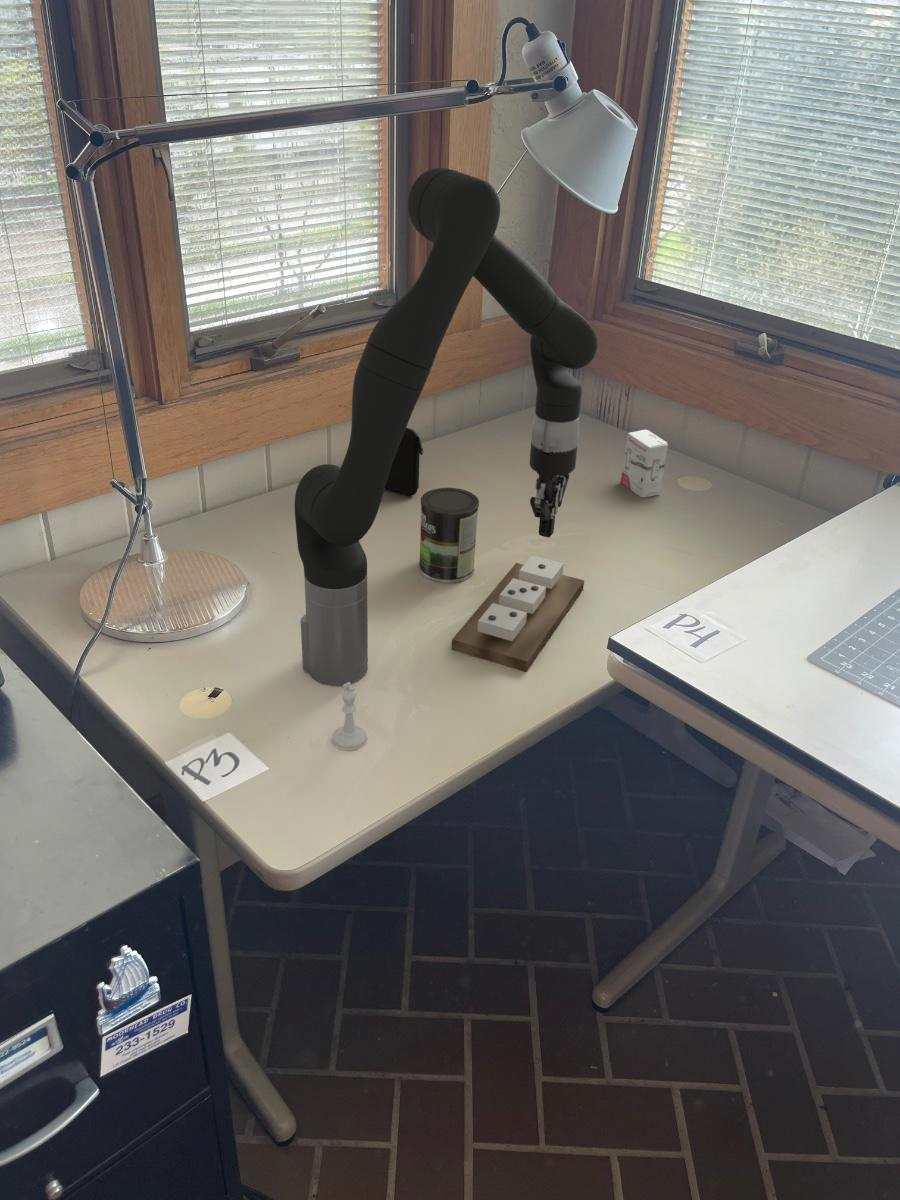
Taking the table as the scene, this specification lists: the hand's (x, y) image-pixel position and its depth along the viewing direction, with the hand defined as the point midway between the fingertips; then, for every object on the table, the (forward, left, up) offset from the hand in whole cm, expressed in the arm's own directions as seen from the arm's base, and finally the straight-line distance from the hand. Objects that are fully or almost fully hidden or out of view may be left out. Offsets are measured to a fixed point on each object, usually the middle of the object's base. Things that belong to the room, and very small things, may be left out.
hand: (545, 534), depth 173 cm
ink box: (+4, +51, -12) cm, 52 cm away
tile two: (0, -18, -8) cm, 20 cm away
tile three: (0, -9, -8) cm, 12 cm away
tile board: (0, -9, -12) cm, 15 cm away
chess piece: (-10, -50, -12) cm, 53 cm away
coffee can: (-18, 0, -12) cm, 22 cm away
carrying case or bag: (-40, +24, -12) cm, 48 cm away
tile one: (0, 0, -8) cm, 8 cm away
